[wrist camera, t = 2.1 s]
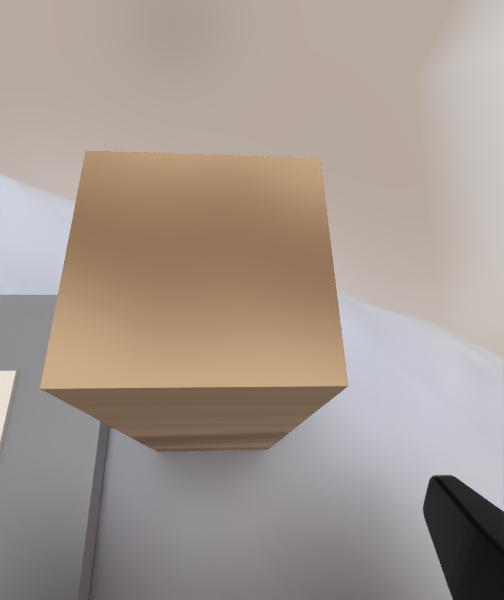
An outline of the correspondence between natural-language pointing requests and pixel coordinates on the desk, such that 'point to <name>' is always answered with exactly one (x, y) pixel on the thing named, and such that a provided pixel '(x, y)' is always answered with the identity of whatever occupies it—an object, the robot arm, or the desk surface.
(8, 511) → the baseplate
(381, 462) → the desk surface
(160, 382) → the oak block
